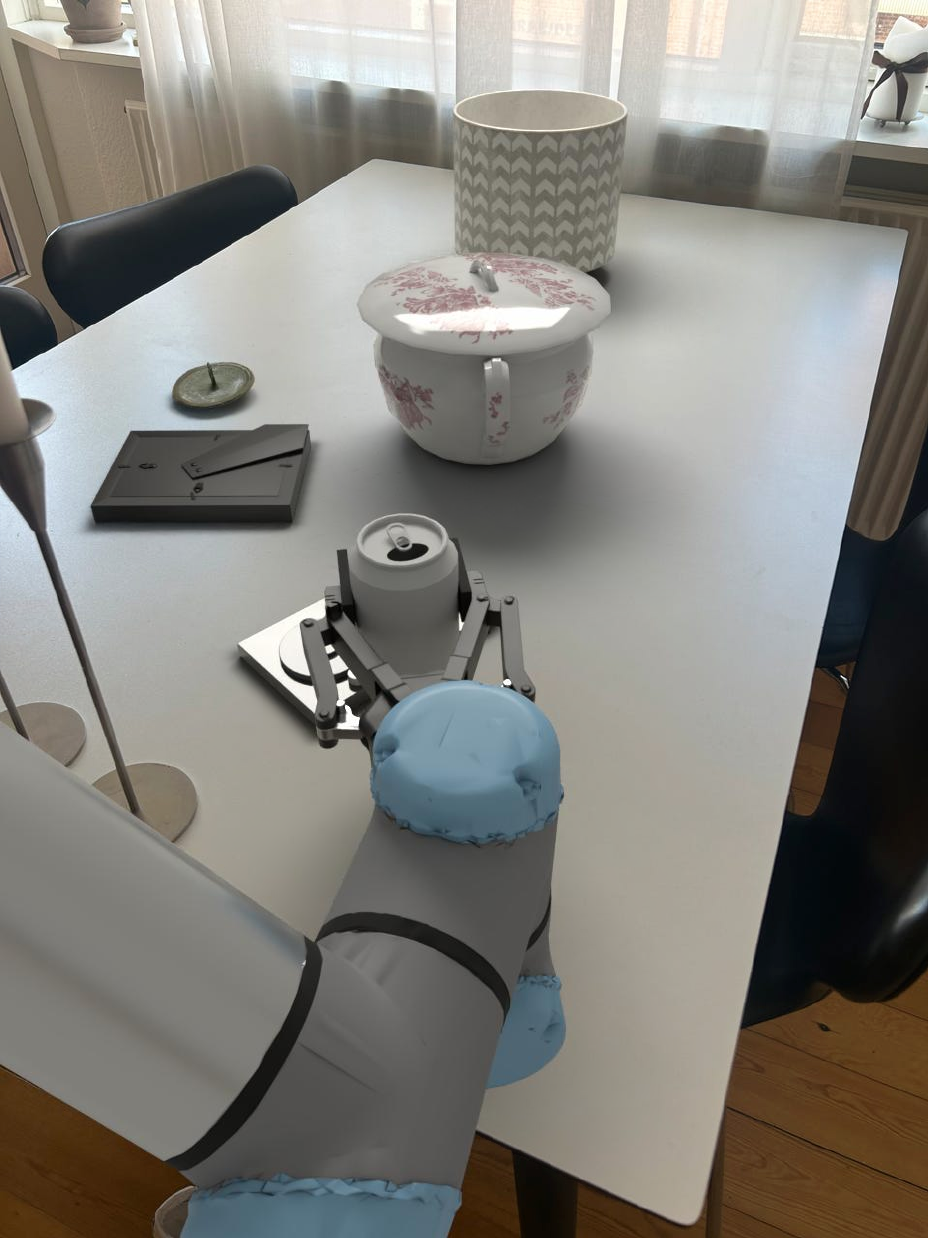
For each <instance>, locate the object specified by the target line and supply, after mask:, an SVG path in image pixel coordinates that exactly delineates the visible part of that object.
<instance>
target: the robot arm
mask: <svg viewBox="0 0 928 1238" xmlns="http://www.w3.org/2000/svg"><path fill="white" fill-rule="evenodd" d="M448 539H449V540H451V541H452V542H453V543H454V545H455V547H456V550H457V552H458V589H459V614H460V618H461V622H464V624H463V627H462V630H461V632H460V635H459V638H458V641H457V644H456V647H455V649H454V652H453V655H452V654H451V655H450V657H449V660H448V663H447V666H446V669H444V670H436V671H431V672H428V673H424V674H402V675H398V674H397V673H396V672H395V671H394V669H393V668H392V667H391V666H390V664H389V663H388V662H385V663H384V662H383V661H382V660H381V658H380V657H379V656H378V655H377V653H376V652H375V651H374V650H373V648H372V647H371V646H370V645H369V643H368V642H367V641H366V640H365V638H364V637H363V636H362V635H361V633H360V632H359V631H358V630H357V628H356V624H355V615H354V606H353V597H352V590H351V583H350V574H349V565H348V559H349V555H348V554H349V553H348V548H342V549H341V548H340V549H336V557H337V567H338V578H339V585H330V586H326V587H325V589H324V592H323V593H324V598H325V612H326V614H325V616H324V617H323V618H322V619H320V620H317V621H316V620H315V619H313V618H306V619H303V620H302V621H301V622H300V631H301V638H302V644H303V650H304V655H305V658H306V662H307V666H308V669H309V673H310V676H311V680H312V684H313V687H314V691H315V694H316V698H317V706H316V710H315V722H316V726H315V728H316V735H317V741H318V745H319V746H320V748H322V749H324V750H325V749H326V750H329V749H333V748H335V747H336V746H337V745H338V743H339V740H354V741H355V740H357V741H360V743H361V744H362V746H363V747H364V748H365V749H366V750H367V752H368V753H369V760H370V768H371V770H370V771H369V775H368V777H369V781H370V782H369V785H370V787H369V788H370V793H371V798H372V799H373V801H374V806H373V812H372V815H371V818H370V821H369V823H368V825H367V827H366V829H365V832H364V834H363V835H362V839H361V841H360V842H359V845H358V847H357V849H356V851H355V853H354V856H353V857H352V859H351V862H350V864H349V866H348V869H347V871H346V873H345V874H344V877H343V879H342V882H341V884H340V886H339V888H338V891H337V892H336V894H335V897H334V899H333V901H332V902H331V903H332V904H331V905H330V908H329V910H328V912H327V914H326V917H325V919H324V920H323V922H322V925H321V928H320V929H319V931H318V933H317V935H316V938H315V939H314V941H313V940H312V939H310V938H309V937H308V936H305V935H304V934H303V933H302V932H300V931H298V930H297V929H295V928H294V927H292V926H291V925H289V924H288V923H287V922H285V921H284V920H282V919H281V917H279V916H276V915H275V913H272V912H271V911H270V910H268V909H267V908H265V907H264V906H263V905H261V904H260V903H258V902H257V901H256V900H254V899H253V898H251V897H250V896H249V895H247V894H246V893H244V892H243V891H242V890H240V889H239V888H237V887H236V886H235V885H234V884H232V883H230V882H228V881H227V880H226V879H225V878H223V877H222V876H220V874H217V873H216V872H215V871H213V870H212V869H210V868H209V867H208V866H206V865H205V864H203V863H202V862H201V861H199V860H198V859H196V858H195V857H193V856H192V855H190V854H189V853H188V852H186V850H183V849H182V848H180V846H178V845H177V844H175V843H174V842H173V841H171V840H170V839H168V838H167V837H165V836H164V835H162V834H161V833H160V832H158V831H157V830H156V829H154V828H153V827H151V826H150V825H148V824H147V823H146V822H144V821H142V819H140V818H139V817H137V816H136V815H134V814H133V813H131V812H130V811H129V810H127V809H126V808H124V807H123V806H121V805H120V804H119V803H118V802H116V801H114V800H113V799H112V798H110V797H109V796H107V795H106V794H105V793H103V792H102V791H100V790H99V789H97V788H96V787H95V786H93V785H92V784H90V783H89V782H88V781H86V780H85V779H84V778H82V777H81V776H79V775H78V774H76V773H75V772H73V770H70V768H68V767H66V766H65V765H63V764H62V763H61V762H59V761H58V760H56V759H55V758H54V757H52V756H51V755H50V754H48V753H47V752H45V751H43V750H42V749H41V748H40V747H38V746H37V745H35V744H34V743H33V742H32V741H30V740H28V739H27V738H25V737H24V736H22V734H20V733H18V731H16V730H14V729H13V728H11V727H10V726H8V725H7V724H5V722H3V721H2V720H0V1065H2V1066H3V1067H5V1068H6V1069H8V1070H10V1071H11V1072H13V1073H15V1074H17V1075H18V1076H19V1077H21V1078H23V1079H25V1080H27V1081H28V1082H30V1083H31V1084H33V1085H35V1086H37V1087H38V1088H40V1089H42V1090H43V1091H45V1092H47V1093H49V1094H50V1095H52V1096H53V1097H55V1098H56V1099H59V1100H60V1101H62V1102H63V1103H65V1104H67V1105H69V1106H71V1107H72V1108H74V1109H76V1110H77V1111H79V1112H80V1113H82V1114H84V1115H85V1116H87V1117H89V1118H91V1119H92V1120H94V1121H96V1122H97V1123H99V1124H100V1125H102V1126H104V1127H105V1128H107V1129H109V1130H110V1131H112V1132H114V1133H116V1134H117V1135H119V1136H121V1137H122V1138H124V1139H126V1140H128V1141H129V1142H131V1143H133V1144H134V1145H135V1146H138V1147H139V1148H140V1149H143V1150H144V1151H146V1152H147V1153H149V1154H151V1155H153V1156H154V1157H155V1158H157V1159H159V1160H160V1161H161V1162H162V1163H164V1164H166V1165H167V1166H169V1167H170V1168H172V1169H174V1170H176V1171H177V1172H178V1173H180V1174H181V1175H182V1176H183V1177H184V1178H186V1179H187V1181H190V1182H191V1183H192V1184H193V1185H194V1186H195V1187H194V1190H193V1192H192V1194H191V1197H190V1199H189V1201H188V1203H187V1216H186V1217H187V1218H186V1220H185V1223H184V1225H183V1227H182V1230H181V1232H180V1235H179V1238H448V1236H449V1232H450V1230H451V1227H452V1223H453V1221H454V1218H455V1216H456V1213H457V1212H458V1211H459V1210H460V1207H461V1206H462V1204H463V1200H462V1197H463V1192H462V1191H461V1190H462V1187H463V1186H462V1185H463V1182H464V1178H465V1174H466V1170H467V1166H468V1162H469V1158H470V1154H471V1150H472V1146H473V1143H474V1138H475V1135H476V1130H477V1128H478V1122H479V1119H480V1114H481V1112H482V1107H483V1103H484V1099H485V1097H486V1092H487V1090H489V1089H494V1088H501V1087H504V1086H508V1085H511V1084H514V1083H517V1082H519V1081H522V1080H524V1079H527V1078H529V1077H531V1076H533V1075H534V1074H536V1073H538V1072H539V1071H541V1070H542V1069H544V1068H545V1067H546V1066H547V1065H548V1064H550V1063H551V1062H552V1061H553V1060H554V1059H556V1057H557V1055H558V1054H559V1053H560V1051H561V1049H562V1048H563V1047H564V1043H565V1040H566V1035H567V1023H566V1018H565V1013H564V1008H563V1002H562V997H561V990H562V986H563V985H562V982H561V977H558V976H557V974H556V970H555V966H554V963H553V959H552V955H551V948H550V926H551V925H550V924H551V915H552V914H551V913H552V899H553V898H552V879H553V871H554V870H553V869H554V861H555V852H556V841H557V833H558V822H559V812H560V805H562V804H563V801H564V798H565V787H564V786H563V785H562V779H561V777H562V776H561V775H562V774H561V747H560V746H561V745H560V743H559V739H558V734H557V732H556V730H555V728H554V726H553V724H552V722H551V721H550V719H549V717H548V716H547V715H546V714H545V713H544V711H542V709H541V708H540V707H538V706H537V705H536V695H537V694H536V693H537V690H536V689H537V688H536V686H535V685H534V683H533V681H532V680H531V678H530V677H529V675H528V674H527V672H526V671H525V664H524V653H523V642H522V634H521V633H522V632H521V622H520V621H521V620H520V610H519V600H518V598H516V596H513V595H505V596H502V597H501V598H500V599H494V598H492V597H491V596H490V595H489V594H488V591H487V587H486V584H485V580H484V577H483V574H482V573H481V572H480V571H479V570H478V569H477V570H467V568H466V564H465V561H464V560H465V559H464V556H463V553H462V550H461V549H462V548H461V546H460V543H459V538H458V537H449V538H448ZM491 627H496V628H499V636H500V637H499V638H500V639H499V640H500V652H501V667H502V680H503V681H502V684H501V685H497V686H496V685H494V684H493V683H490V682H486V683H485V682H484V683H483V682H479V681H478V680H474V677H475V674H476V671H477V667H478V664H479V661H480V659H481V655H482V652H483V649H484V645H485V642H486V639H487V636H488V635H490V634H491ZM328 645H331V646H332V647H333V648H334V650H335V651H336V652H337V654H338V655H339V656H340V658H341V659H342V660H343V662H344V663H345V664H346V666H347V667H348V668H349V670H350V671H351V672H352V674H353V675H354V676H355V678H356V679H357V680H358V682H359V683H360V684H361V686H362V687H363V688H364V690H365V691H366V692H367V694H368V695H369V696H370V698H369V699H371V702H370V703H369V704H368V706H367V707H366V708H365V710H364V711H363V712H362V713H361V715H360V716H359V717H358V716H355V715H354V714H353V713H352V709H350V707H349V706H347V705H345V701H343V700H339V696H338V689H337V685H336V681H335V678H334V675H333V671H332V668H331V665H330V662H329V658H328V655H327V652H326V648H325V646H328Z"/></svg>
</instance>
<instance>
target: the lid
mask: <svg viewBox="0 0 928 1238" xmlns="http://www.w3.org/2000/svg"><path fill="white" fill-rule="evenodd" d="M254 383H255V375H254V372H253V371H252V370H251V369H250V368H249V367H247V366H245V365H243V364H241V363H237V362H234V361H233V362H232V361H230V362H229V361H219V362H212V363H210V362H209V361H208V362H206V364H203V365H200V366H196V367H193V368H190V369H188V370H187V371H185V372H184V373H182V374H181V375H180V376H179V377H178V378H177V379H176V380H175V383H174V384H173V386H172V392H171V395H172V396H171V397H172V399H173V401H174V402H175V403H176V404H179V405H181V406H183V407H185V408H193V409H212V408H217V407H221V406H225V405H228V404H230V403H232V402H235V401H236V400H238V399H240V398H241V397H243V396H244V395H245V394H246V393H248V392H249V391H250V390H251V388H252V387H253V386H254Z"/></svg>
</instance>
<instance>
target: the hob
mask: <svg viewBox="0 0 928 1238" xmlns="http://www.w3.org/2000/svg"><path fill="white" fill-rule="evenodd" d="M325 614H326V612H325V597H323V598H321V599H319V600H317V601H315V602H314V603H312V604H309V605H308V606H306V607H304V608H302V609H301V610H298V611H296V612H295V613H293V614H291V615H289V616H287V617H285V618H283V619H281V620H279V621H277V622H276V623H274V624H272V625H269V626H268V627H265V628H264V629H262V630H260V631H258V632H256V633H255V634H252V635H251V636H249V637H247V638H244V639H243V640H241V641H239V642H237V644H236V645H237V649H238V650H237V651H238V654H239V657H240V658H242V660H243V661H244V662H245V663H246V664H248V665H249V666H250V667H251V668H252V669H253V670H254V671H255V672H256V673H257V674H258V675H260V676H261V677H262V678H263V679H264V680H265V681H266V682H267V683H268V684H270V685H271V686H272V687H273V689H275V690H276V691H277V692H278V694H281V696H283V698H284V699H286V700H287V701H288V702H289V703H290V704H291V705H292V706H293V707H294V708H296V710H298V711H299V712H300V713H301V714H302V715H303V716H304V717H306V718H307V720H309V721H310V722H311V723H312V724H313V725H314V726H315V727H316V722H315V710H316V706H317V698H316V694H315V691H314V687H313V684H312V680H311V676H310V673H309V669H308V666H307V662H306V658H305V655H304V650H303V644H302V638H301V631H300V622H301V621H302V620H303V619H306V618H313V619H315V620H316V621H317V620H320V619H322V618H323V617H324V616H325ZM463 624H464V622H461V618H460V614H459V635H460V632H461V630H462V627H463ZM325 648H326V652H327V655H328V658H329V662H330V665H331V668H332V671H333V675H334V678H335V681H336V685H337V689H338V696H339V700H343V701H345V705H347V706H349V707H350V709H351V710H353V709H354V708H356V707H358V706H360V705H361V704H363V703H364V702H366V701H368V700H369V699H371V698H370V696H369V695H368V694H367V692H366V691H365V690H364V688H363V687H362V686H361V684H360V683H359V682H358V680H357V679H356V678H355V676H354V675H353V674H352V672H351V671H350V670H349V668H348V667H347V666H346V664H345V663H344V662H343V660H342V659H341V658H340V656H339V655H338V654H337V652H336V651H335V650H334V648H333V647H332V646H331V645H328V646H325Z"/></svg>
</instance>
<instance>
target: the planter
mask: <svg viewBox="0 0 928 1238" xmlns="http://www.w3.org/2000/svg"><path fill="white" fill-rule="evenodd" d="M452 123H453V124H452V126H453V128H452V130H453V131H452V132H453V133H452V135H453V136H452V137H453V139H452V141H453V196H454V197H453V204H454V207H453V208H454V213H453V215H454V250H455V251H454V252H455V254H464V253H511V254H518V255H524V256H531V257H538V258H545V259H548V260H551V261H555V262H558V263H562V264H565V265H568V266H572V267H574V268H576V269H578V270H580V271H582V272H584V273H588V272H591V271H595V270H597V269H598V268H602V267H603V266H605V265H606V264H608V263H609V262H610V261H611V260H612V259H613V257H614V255H615V253H616V243H617V233H618V231H617V230H618V220H619V209H620V200H621V190H622V189H621V188H622V178H623V177H622V176H623V167H624V154H625V145H626V133H627V123H628V107H626V105H625V104H624V103H622V102H621V101H619V100H617V99H614V98H612V97H608V96H605V95H601V94H596V93H592V92H586V91H581V90H580V91H579V90H570V89H569V90H568V89H555V88H553V89H552V88H525V89H522V88H521V89H509V90H498V91H492V92H486V93H481V94H476V95H473V96H470V97H467V98H464V99H462V100H460V101H459V102H457V103H456V104H455V105H454V107H453V110H452Z"/></svg>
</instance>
